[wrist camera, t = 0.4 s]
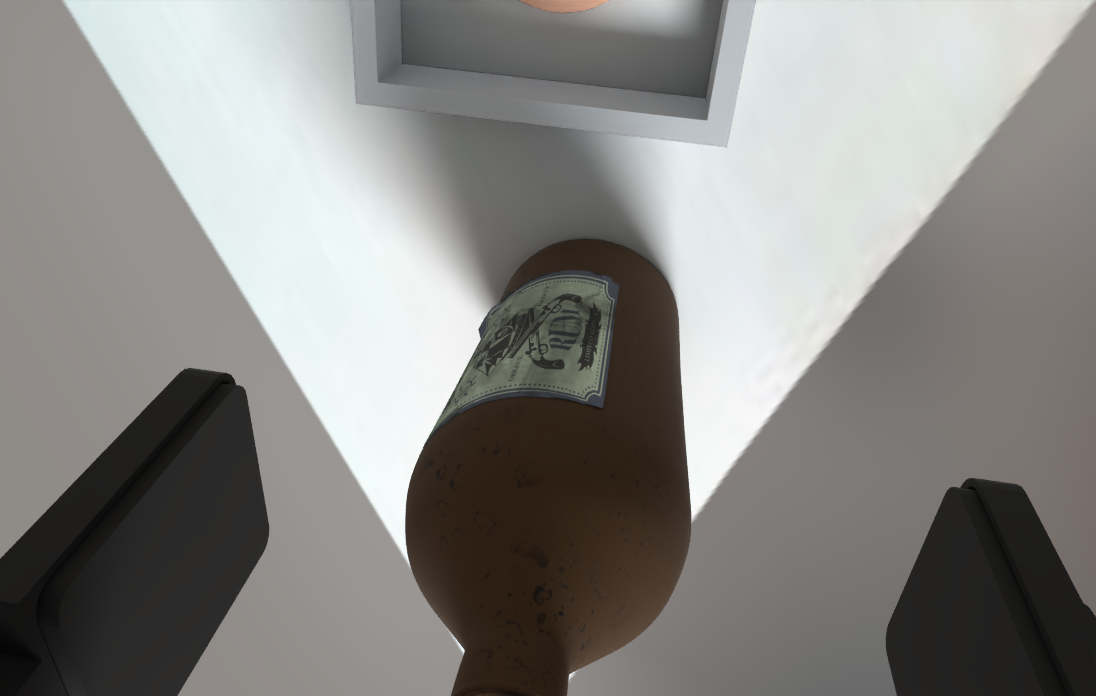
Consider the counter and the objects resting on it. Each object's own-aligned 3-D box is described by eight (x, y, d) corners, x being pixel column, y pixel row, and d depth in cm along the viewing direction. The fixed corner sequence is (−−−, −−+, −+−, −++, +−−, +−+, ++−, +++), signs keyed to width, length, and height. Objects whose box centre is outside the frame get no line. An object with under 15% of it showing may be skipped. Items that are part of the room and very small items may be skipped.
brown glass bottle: (716, 373, 44) (740, 863, 23) (538, 418, 47) (415, 880, 26) (651, 197, 39) (607, 608, 18) (459, 261, 42) (232, 670, 21)
